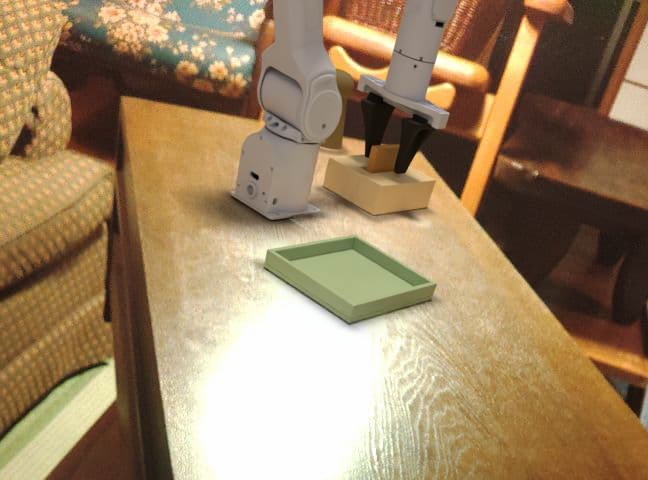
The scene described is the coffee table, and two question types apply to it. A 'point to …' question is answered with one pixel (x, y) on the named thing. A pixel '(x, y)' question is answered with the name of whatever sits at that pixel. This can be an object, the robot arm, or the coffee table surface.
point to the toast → (382, 158)
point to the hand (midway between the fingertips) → (384, 164)
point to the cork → (345, 90)
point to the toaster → (377, 186)
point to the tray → (350, 276)
